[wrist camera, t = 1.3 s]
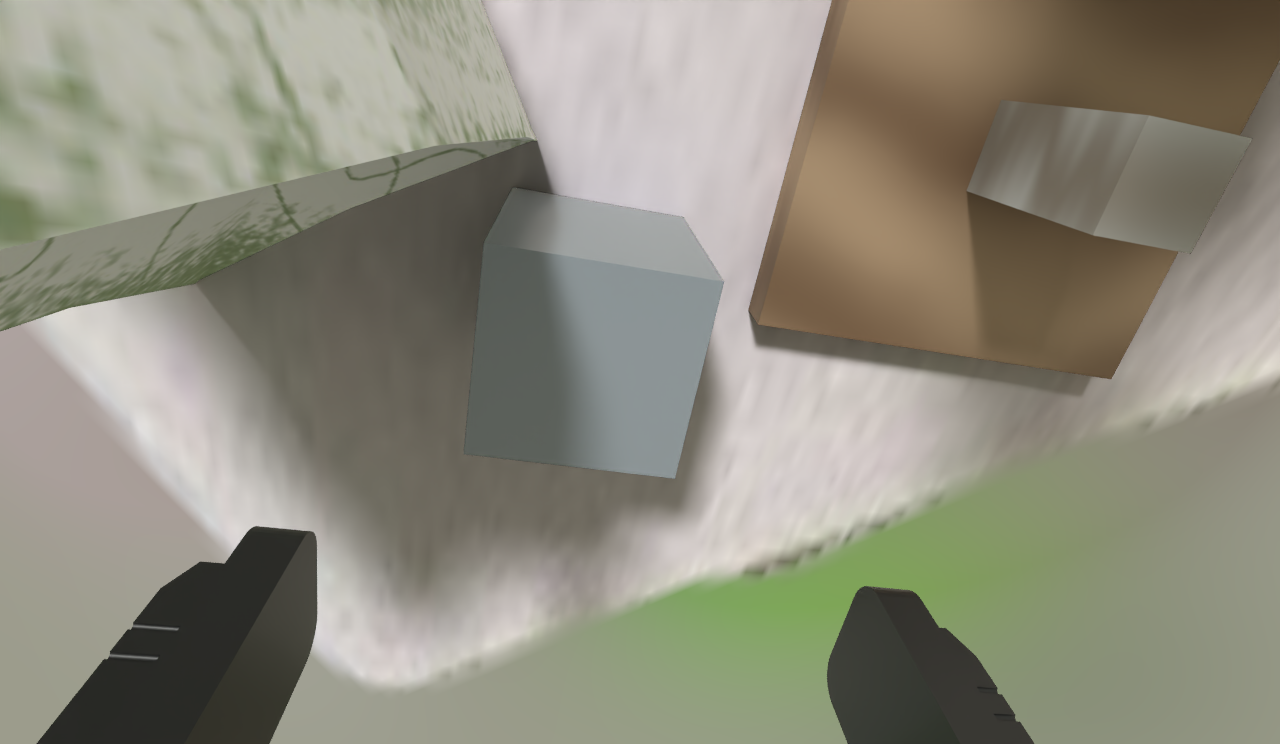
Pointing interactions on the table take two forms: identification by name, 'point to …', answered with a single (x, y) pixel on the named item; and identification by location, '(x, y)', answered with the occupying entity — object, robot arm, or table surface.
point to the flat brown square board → (1009, 170)
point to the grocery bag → (222, 130)
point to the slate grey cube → (588, 335)
